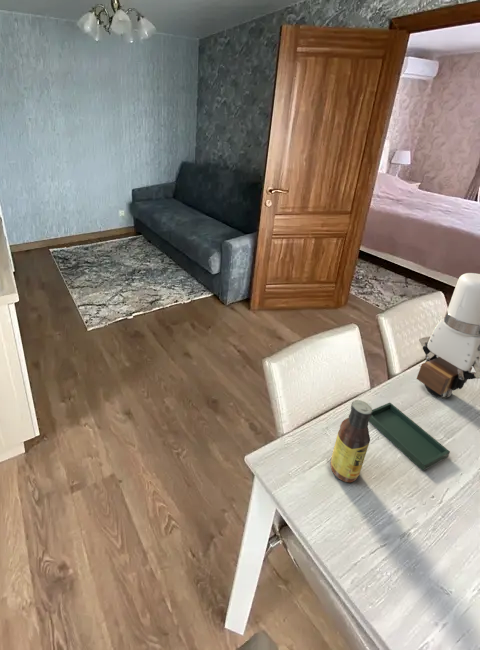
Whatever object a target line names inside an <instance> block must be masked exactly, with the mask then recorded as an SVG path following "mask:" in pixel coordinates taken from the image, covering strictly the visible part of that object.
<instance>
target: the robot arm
mask: <svg viewBox="0 0 480 650" xmlns="http://www.w3.org/2000/svg"><path fill="white" fill-rule="evenodd" d="M456 282H457V283H456V285H455V288H454V290H453V293H452V295H451V299H450V302H449V304H448V307H447V310H446V311H445V315H444V317H441V319H440V320H439V321H438V322H437V324H436V326H435V327H434V329H433V330H432V332H431V334H430V336H429V335H428V336H425V337H421V338H419V339H418V342H419V344H420V345H421V347H422V350H423V352H424V354H425V355H424V357H425V359H426V361H425V362H427V361H430V360H433V359H435V358H436V356H439V357H441V358H442V359H444V360H446V361H447V362H449V363H451V364H452V365H454V366H456V367H457V371H458V376H457V377H455V379H454V381H453V384H452V386H451V390H453V391H454V392H455V391H456V390H461V389H462V388H464V385H465V384H466V383H465V381H466V379H467V380H474V379H477V380H478V379H480V273H475V272H466V273H463V274H461V275H460V276H459V278H458V279H457V281H456ZM471 367H472V368H473V370H474V371H471V372H470V368H471ZM466 382H467V381H466ZM453 391H452V392H453Z"/></svg>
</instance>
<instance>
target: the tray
mask: <svg viewBox="0 0 480 650" xmlns="http://www.w3.org/2000/svg"><path fill="white" fill-rule="evenodd" d="M368 423H370V424H372V426H373V427H374V428H376V430H378V431H379V432H380V433H381V434H382V435H383V436H384V437H386V438H387V439H388V440H389V442H391V443H392V444H393V445H394V446H395V447H396V448H397V449H399V451H401V452H402V453H403V455H405V456H406V457H407V458H408V459H409V460H410V461H411V462H412V463H413V464H415V466H416V467H418V468H419V469H420V470H421V471H422V472H423V471H425V470H427V469H429V468H431V467H432V466H435V465H436V464H438V463H440V462H441V461H443V460H445V459H447V458H448V457H449V456H450V453H451V451H450V450H448V449H447V448H446V447H445V446H444V445H443V444H442V443H440V442H439V441H438V440H436V439H435V438H434V437H433V436H432V435H431V434H429V433H428V432H427V431H426V430H425V429H423V428H422V427H421V426H420V425H418V424H417V423H416V422H414V421H413V420H412V419H411V418H410V417H409V416H408V415H406V414H405V413H403V411H401V410H400V409H399V408H397V406H395V405H394V404H392V402H387V403H385V404H383V405H380V406H378V407H375V408H372V416H371V417H370V418H369V422H368Z"/></svg>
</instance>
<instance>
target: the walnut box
mask: <svg viewBox="0 0 480 650" xmlns="http://www.w3.org/2000/svg"><path fill="white" fill-rule="evenodd" d="M472 370H473V366H472V367H471V368H470V372H472ZM457 376H458V371H457V367H456V366H454V365H452V364H451V363H449V362H447V361H446V360H444V359H442V358H441V357H438V358H435V359H433V360H430V361H427V362H426V361H424V363H421V365H420V368H419V371H418V373H417V376H416V380H417V381H419V382H420V383H422V384H424V386H425V385H426V386H428V387H429V388H431V389H432V390H434V391H435V392H436V393H438V394H439V395H441V394H443V393H445V392H447V391H449V390H451V386H452V384H453V381H454V379H455V377H457ZM467 381H468V379H466V381H465V383H464V384H466V383H467Z"/></svg>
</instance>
